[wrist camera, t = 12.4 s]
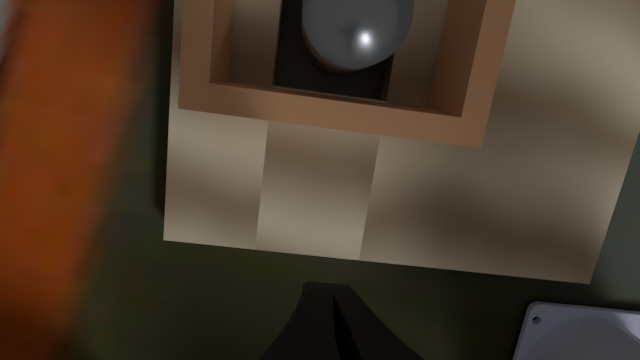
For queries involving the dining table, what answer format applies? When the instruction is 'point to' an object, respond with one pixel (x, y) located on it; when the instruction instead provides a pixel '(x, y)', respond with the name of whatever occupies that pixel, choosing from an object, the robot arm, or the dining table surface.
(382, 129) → the light brown open box
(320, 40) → the peg
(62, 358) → the dining table surface
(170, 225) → the board
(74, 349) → the dining table surface
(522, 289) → the dining table surface
